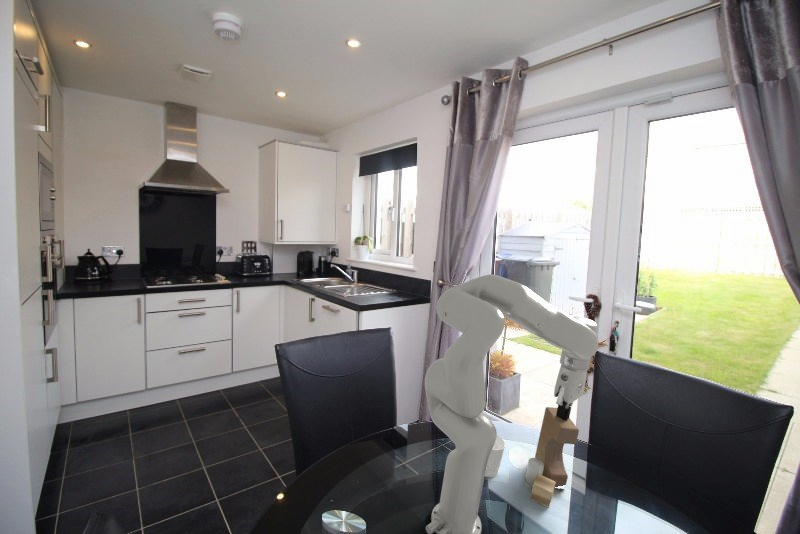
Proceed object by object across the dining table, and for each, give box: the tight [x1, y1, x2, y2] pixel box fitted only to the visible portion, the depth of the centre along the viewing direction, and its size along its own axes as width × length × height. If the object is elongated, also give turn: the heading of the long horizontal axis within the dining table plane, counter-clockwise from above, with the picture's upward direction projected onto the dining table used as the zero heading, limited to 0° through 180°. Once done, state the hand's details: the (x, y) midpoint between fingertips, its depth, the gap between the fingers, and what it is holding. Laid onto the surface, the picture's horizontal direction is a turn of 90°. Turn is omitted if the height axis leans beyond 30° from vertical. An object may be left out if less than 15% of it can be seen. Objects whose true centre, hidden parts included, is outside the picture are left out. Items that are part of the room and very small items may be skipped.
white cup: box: [484, 434, 506, 478], centre depth 118 cm, size 8×8×10 cm
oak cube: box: [530, 474, 556, 508], centre depth 110 cm, size 5×5×5 cm
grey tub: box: [524, 457, 544, 486], centre depth 116 cm, size 4×4×6 cm
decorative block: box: [534, 406, 580, 487], centre depth 117 cm, size 11×6×20 cm, turn 1°
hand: (562, 417), depth 115 cm, fingers closed
